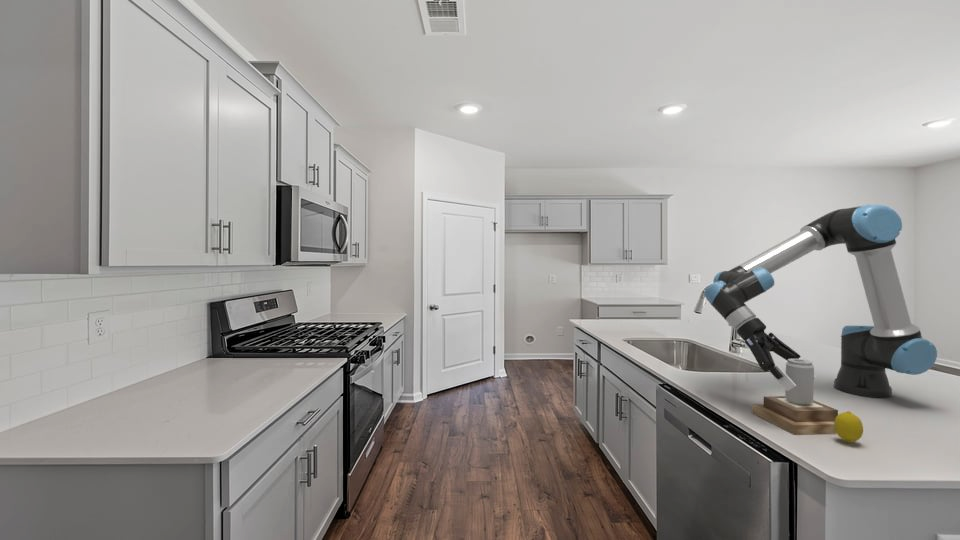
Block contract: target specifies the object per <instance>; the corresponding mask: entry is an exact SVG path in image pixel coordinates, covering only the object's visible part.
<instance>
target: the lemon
mask: <svg viewBox="0 0 960 540" xmlns="http://www.w3.org/2000/svg"><path fill="white" fill-rule="evenodd" d="M863 425H864V424H863V422H862V421H861V418H859V416H857V415H856V414H854V413H852V411H844V412H840V413H838V415H837V417H836V419H835V423H834V428H835V431H836V433H837V436H838V437H839V438H841V440H844V441H845V443H848V444H850V443H852V442H856V441H859V440H860V439H861V438H862V436H863V433H864V426H863Z"/></svg>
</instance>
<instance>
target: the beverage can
mask: <svg viewBox="0 0 960 540" xmlns="http://www.w3.org/2000/svg"><path fill="white" fill-rule="evenodd" d="M785 373H786V375H787V376H788V377H789V378H790V379H791V380H792V381H793V382H794V383H795V384H796V385H797V386H795V387H793V388H792V389H790V390H788V391H787V390H786V389H785V388H784V389H785V395H784V396H785V398H786V399H787V400H788V401H789V402H791V403H793V404H797V405H805V406H806V405H810V404H812V403H813V400H814V391H815V390H814V387H815V386H814V384H815V383H814V382H815V381H814V380H815V379H814V376H815V366H814V364H813V361H811V360H808V359H803V358H799V359H788V361H786V363H785Z"/></svg>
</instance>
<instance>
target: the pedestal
mask: <svg viewBox="0 0 960 540" xmlns="http://www.w3.org/2000/svg"><path fill="white" fill-rule="evenodd" d="M751 413H752V414H753V415H756V416H758V417H760V418H761V419H764V420H765V421H767V422H769V423H771V424H773V425H775V426H777V427H779V428H781V429H783V430H784V431H787V432H788V433H790V434H791V435H831V434H835V435H836V434H837V433H836V431H835V428H834V423H835V419H836V417H837V415H839V410H838V409H836V408H834V407H832V406H829V405H826V404H824V403H821V402H819V401H816V400H814V399H813V403H812V404H810V405H806V406H805V405H797V404H793V403H791V402H789V401H788V400H787V399H786V398H785V395H784V396H783V395H781V396H779V395H777V396H776V395H775V396H771V395H770V396H763V403H758V404H757V403H756V404H755V403H754V404H752V406H751ZM837 435H838V434H837Z"/></svg>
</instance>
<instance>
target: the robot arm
mask: <svg viewBox="0 0 960 540" xmlns="http://www.w3.org/2000/svg"><path fill="white" fill-rule="evenodd" d="M902 230H903V223H902V219H901V217H900V215H899V214H898V212H897V211H896V210H895V209H893V208H891V207H889V206H886V205H883V204H867V205H866V204H865V205H861V206H854V207H849V208H840V209H836V210H833V211H830V212H828V213H827V214H824V215H823V216H821V217H819V218H817V219H815V220H813V221H811V222H810V223H808V224H806V225H804V226H802V227H801V229H800V230H799V232H797V233H796V234H794V235H792V236H790V237H788V238H787V239H785V240H783V241H781V242H779V243H777V244H776V245H773V246H772V247H770V248H768V249H766V250H764V251H763V252H761V253H759V254H757V255H754V256H753V257H752V258H750V259H748V260H746V261H744V262H743V263H741V264H739V265H737V266H735V267H733V268H731V269H730V270H724V271H720V272H718V273H717V274H716V275H715V276H714V278H713V283H711V284H710V285H709V286H708V287H707V288H705V290H704V292H703V293H704V294H703V295H704V297H705V299H706V300H707V302H709V304H710V305H711V306H712V307H713V308H714V309H715V310H716V312H717V313H719V314H720V315H721V317H722V318H723V319H724V320H725V321H726V322H727V324H728V326H729V327H731V328H732V329H733V330H734V331H736V334H737V335H738V336H739V337H740V338H741V339H742V340H743V341H744V343H745V344H746V346H747V347H748V349H749V350H750V352H751V354H752V355H753V357H754V358H755V360H756V362H757V364H758V366H759V368H760V369H761V370H762V371H763V372H765V373H767V372H769V373H770V374H771V375H772V376H773V378H774V379H776V381H778V383H779V384H780V385H781V386H782V387H783V388H784V389H786V390H787V391H788V390H790V389H792V388H793V387H795V386H797V385H796V384H795V383H794V382H793V381H792V380H791V379H790V378H789V377H788V376H787V375H786V371H784V370H783V369H782V368H781V367H780V366H779V365H778V364H777V365H776V363H775V361H774V359H773V356H772V353H775V354H776V355H777V356H779V357H781V358H782V359H784V360H786V362H788V359H801V355H800V354H799V353H798V352H796V351H795V350H794V349H792V348H791V347H790V346H789V345H788V344H786V343H784V342H783V341H782V340H781V339H779V337H777V336H776V335H775V334H774V333H773V332H769V333H766V332H765V330H766V329H767V325H766V324H765V323H764V322H763V321H762V320H761V319H760V318H759V317H757V315H756V314H755V312H753V311H752V309H751V308H749V306H748V305H747V304H745V303H746V302H749V301H751V300H752V299H754V298H756V297H758V296H760V295H761V294H763V293H766V292H767V291H769V290H770V289H771V288H773V287H774V286H775V279H774V277H773V275H772V274H773V273H774V272H776V271H778V270H780V269H782V268H783V267H786V266H787V265H789V264H791V263H793V262H794V261H797V260H799V259H800V258H802V257H804V256H806V255H808V254H810V253H812V252H813V251H822V250H823V249H826V248H828V247H831V246H835V245H841V244H843V245H845V247H846V251H847V253H849V254H850V255H853V256H854V257H855V261H856V263H857V267H858V272H859V275H860V278H861V282H862V285H863V289H864V292H865V293H864V294H865V297H866V300H867V305H868V308H869V311H870V314H871V315H870V316H871V318H872V322H873V325H845V326H843V327H842V331H841V336H840V338H841V339H840V340H841V343H840V345H841V347H840V349H841V350H840V357H841V358H840V360H841V361H840V368H839V369H838V372H837V376H836V377H835V378H834V380H833V383H834V384H833V387H834V389H836V390H837V391H838V390H839V391H841V392H843V393H844V392H845V393H848V394H852V395H857V396H862V397H863V396H864V397H869V398H871V397H872V398H890V397H892V396H893V389H892V386H890V382H889V378H888V376H887V372H886V369H887V370H891V371H895V372H896V373H899V374H907V375H911V376H917V375H921V374H924V373H926V372H927V371H929V370H930V369H931V368H932V366H933V365H934V364H936V361H937V359H938V358H937V357H938V351H937V347H936V346H935V344H934V343H933V342H930V340H928V339H925V338H923V336H922V332H921V330H920V329H921V328H920V327H919V326H917V325H915V324H914V323H912V321H911V317H910V315H909V310H908V307H907V304H906V299H905V296H904V293H903V289H902V283H901V281H900V278H899V275H898V270H897V267H896V263H895V260H894V256H893V251H892V249H893V248H894V247H896V246H897V240H896V238H898V237H899V235H900V234H901V232H902ZM771 352H772V353H771ZM815 379H817V376H815V375H814V380H815Z"/></svg>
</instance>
